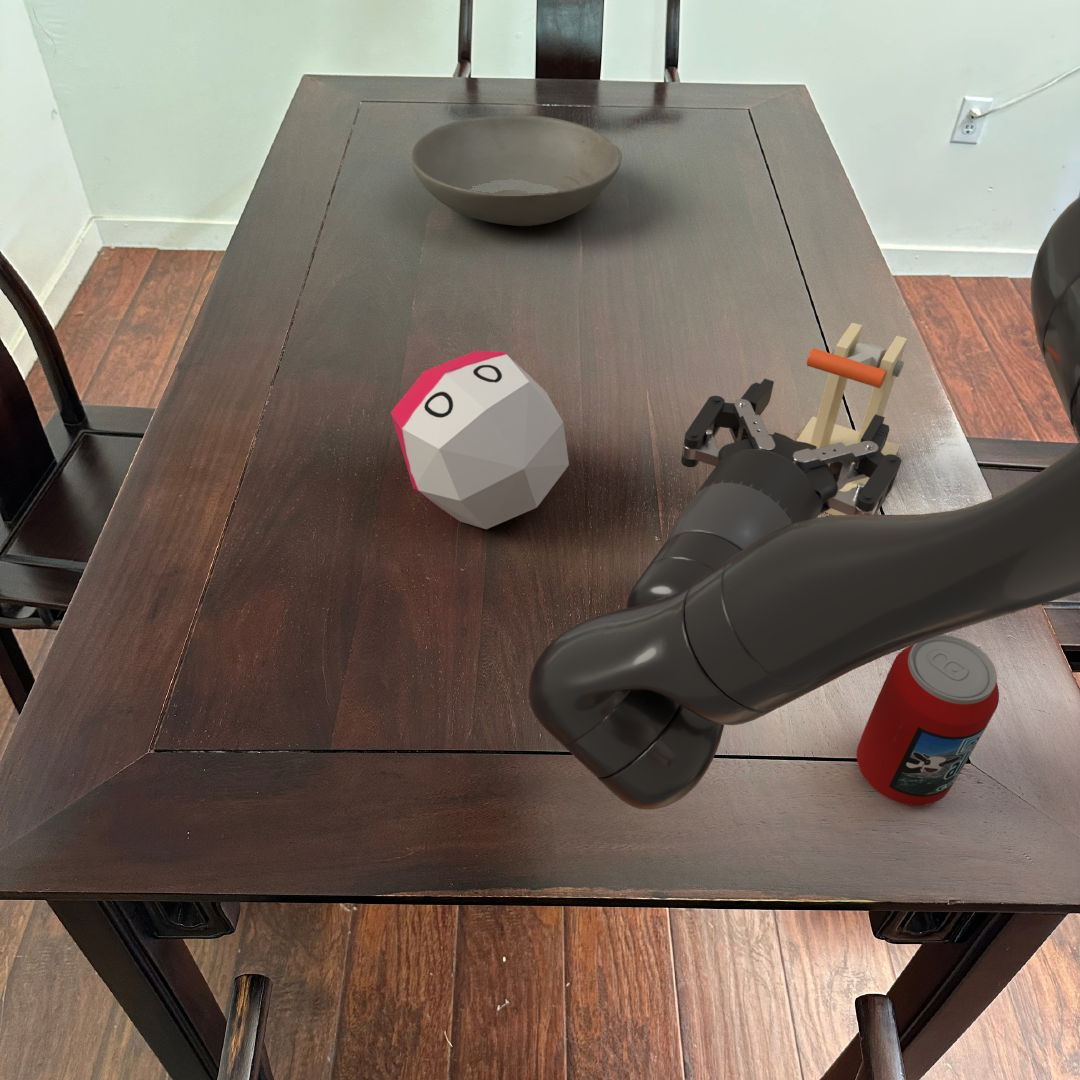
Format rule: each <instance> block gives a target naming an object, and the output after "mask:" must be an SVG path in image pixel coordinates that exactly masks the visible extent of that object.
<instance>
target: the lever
mask: <svg viewBox="0 0 1080 1080" xmlns="http://www.w3.org/2000/svg"><path fill="white" fill-rule="evenodd" d="M809 351H810V352H809V354H808V356H807V359H806V366H807V367H810V368H813V369H816V370H820V371H823V372H825V373H828V374H829V373H832V374H835V375H838V376H842V377H845V378H848V379H849V380H851V381H855V382H858V383H861V384H865V385H868V386H871V387H877V388H881V386H882V384H883V382H884V380H885V377H886V374H887V371H886V370H883V369H880V364H881V361H882V359H883V357H884V355H885V354H886V352H887V348H886V347H882V346H879V345H877V344H876V345H875V344H872V343H869V342H865V341H860V342H858V343H857V345H856V348H855V350H854V353H853V356H851V357H849V358H844V357H841V356H837V355H834V354H832V352H831V353H830V352H827V351H824V350H821V349H817V348H814V347H813V348H811V350H809Z"/></svg>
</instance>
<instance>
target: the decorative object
mask: <svg viewBox="0 0 1080 1080" xmlns="http://www.w3.org/2000/svg"><path fill="white" fill-rule="evenodd" d="M390 414H391V417H392V421H393V425H394V429H395V431H396V434H397V438H398V441H399V445H400V449H401V451H402V454H403V459H404V461H405V465H406V469H407V472H408V475H409V478H410V482H411V486H412V489H413V490H414V491H415V492H417V493H418V494H419V495H421V496H422V497H423V498H425V499H426V500H428V501H429V502H431V503H432V504H433V505H435V506H436V507H437V508H439V509H440V510H442V511H443V512H444V513H446V514H448V515H449V516H450V517H451V518H453V519H454V520H456V521H457V522H460V523H463V524H468V525H471V526H474V527H477V528H480V529H484V530H488V529H490V528H492V527H495V526H498V525H500V524H502V523H504V522H507V521H509V520H512V519H514V518H516V517H518V516H521V515H523V514H525V513H528V512H530V511H532V510H536V509H537V508H538V507H539V505H540V504H541V503H542V502H543V500H545V498H546V496H547V495H548V494H549V493H550V491H551V490H552V488H553V487H554V485H556V483H557V482H558V480H559V479H560V478H561V477H562V475H563V474H564V472H565V471H566V470H567V469H568V468H569V466H570V463H569V461H570V460H569V454H568V448H567V440H566V439H567V438H566V433H565V426H564V421H563V419H562V418H561V415H560V414H559V412H558V410H557V408H556V407H555V405H554V403H553V401H552V399H551V397H550V396H549V394H548V392H547V391H546V390H545V389H544V387H543V386H542V385H541V384H539V383H538V382H537V381H536V380H535V379H534V378H533V376H531V375H530V374H529V373H528V372H527V371H526V370H524V368H523V367H522V366H520V365H519V364H518V363H517V362H516V361H515V360H514V359H513V358H512V357H511V356H510V355H509V354H508V353H507V352H506V351H486V350H485V351H483V350H481V351H480V350H475V351H471V352H469V353H467V354H464V355H462V356H459V357H457V358H454V359H451V360H449V361H446V362H444V363H440V364H439V365H436V366H434V367H431V368H429V369H426V370H424V371H423V372H422V373H421V375H419V377H418V378H417V379H416V381H415V382H414V383H413V384H412V386H411V387H410V388H409V389H408V390H407V392H406V393H405V394H404V395H403V397H402V398H401V399H400V400H399V402H398V403H397V404H396V405H395V407H394V408H393V409H392V410H391V411H390Z"/></svg>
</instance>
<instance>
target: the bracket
mask: <svg viewBox="0 0 1080 1080" xmlns="http://www.w3.org/2000/svg"><path fill="white" fill-rule="evenodd" d="M862 330H863V325H862V324H859V323H855V322H851V323H850V325H848V327H847V328H846V331H845V332H844V334H843V335H842V336H841V338H840V339H839V341H836V342H835V343H834V346H833V348H832V351H831V354H834V355H837V356H841V357H844V358H849V357H851V356H853V353H854V350H855V348H856V345H857V343H859V341H860V337H861V334H862ZM907 342H908V338H907V337H903V336H900V335H896V336H895V337H894V338H893V341H892V342H891V344H890V345H889V347H888V349H886V352H885V355H884V357H883V359H882V361H881V364H880V369H883V370H886V371H887V374H886V377H885V380H884V382H883V384H882V386H881V388H877V387H874V386H872V391H871V394H870V397H869V399H868V400H869V401H868V404H867V406H866V410H865V412H864V417H863V420H862V423H861V426H860V430H859V431H858V430H855V429H852V428H849V427H846V426H843V425H840V424H837V423H836V421H837V418H838V415H839V411H840V407H841V403H842V401H843V396H844V393H845V389H846V386H847V383H848V378H845V377H842V376H838V375H835V374H832V373H829V372H828V376H827V379H826V382H825V386H824V391H823V393H822V398H821V400H820V405H819V409H818V413H817V416H812V417H811V418H810V419H809V421H808V422H807V424H806V426H805V427H804V428H803V430H802V431H801V433H800V434H799V436H798V438H797V440H796V441H799V442H805V443H809V444H811V445H814V446H817V448H821V447H825V446H829V445H832V444H836V443H840V442H841V443H843V444H844V445H845V446H848V445H852V444H856V443H859V442H860V441H861V438H862V436H863V435H864V433H865V431H866V429H867V428H868V426H869V424H870V422H871V421H872V419H873V417H874V415H875V414H876V415H879V416H883V417H884V414H885V410H886V407H887V405H888V402H889V399H890V395H891V392H892V388H893V386H894V383H895V379H896V378H899V377H900V376H901V373H902V370H903V368H904V364H905V362H904V360H902V358H903V355H904V352H905V348H906V346H907ZM900 446H901V445H900V444H898V443H894V442H891V441H888V440H886V442H885V445H884V447H883V449H882V451H881V453H882V454H883V455H888V454H893V455H896V456H898V453H899V450H900ZM817 448H816V449H817ZM852 464H855V463H854V462H853V463H852ZM828 466H830V464H828ZM868 480H869V477H867V478H863V479H860V480H856V481H853V482H849V483H847V484H846V485H845V486H844V487H843V488H842V489H840V490H838V491H842V492H846V491H849V490H850V489H852V488H854V487H857V484H858V483H864V484H866V483H867V481H868ZM824 513H826V514H829V515H830V516H834V515H846V514H844V513H842V512H839V511H837V510H834V509H832V508H830V509H829V510H827V511H825V512H824Z"/></svg>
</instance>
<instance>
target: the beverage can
mask: <svg viewBox="0 0 1080 1080" xmlns="http://www.w3.org/2000/svg"><path fill="white" fill-rule="evenodd" d="M997 680H998V674H997V670H996V667H995V665H994V663H993V661H992V660H991V658H990V657H989V656H988V655H987V654H986V653H985V652H984V651H983V649H981V648H979V646H977V645H976V644H974V643H972V642H971V641H968V640H967V639H964V638H962V637H958V636H955V635H950V634H942V635H939V636H936V637H933V638H931V639H928V640H925V641H922V642H919V643H916V644H913V645H911V646H908V647H905V648H903V649H901V651H900V652H899V653H897V655H896V657H895V658H894V660H893V661H892V664H891V666H890V669H889V671H888V673H887V675H886V677H885V680H884V681H883V684H882V687H881V689H880V691H879V693H878V695H877V698H876V700H875V703H874V705H873V708H872V710H871V712H870V715H869V717H868V720H867V721H866V724H865V727H864V729H863V731H862V733H861V737H860V739H859V741H858V744H857V746H856V762H857V766H858V768H859V771H860V774H861V775H862V777H863V778H864V780H865V781H866V782H867V783H868V784H869V785H870V786H871V787H872V789H873V790H875V792H877V793H879V794H880V795H882V796H883V797H885V798H886V799H888V800H891V801H892V802H895V803H898V804H902V805H905V806H910V807H911V806H912V807H922V806H928V805H932V804H934V803H937V802H939V801H941V799H943V798H945V796H946V795H947V794H948V793H949V791H950V790H951V788H952V786H953V785H954V783H955V782H956V780H957V779H958V776H959V775H960V773H961V771H962V770H963V768H964V767H965V765H966V763H967V762H968V760H969V758H970V757H971V754H972V753H973V752H974V749H975V747H976V746H977V744H978V742H979V741H980V740H981V738H982V735H983V734H984V732H985V730H986V729H987V727H988V725H989V723H990V721H991V719H992V717H993V716H994V714H995V712H996V710H997V709H998V706H999V703H1000V689H999V685H998V682H997Z"/></svg>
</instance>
